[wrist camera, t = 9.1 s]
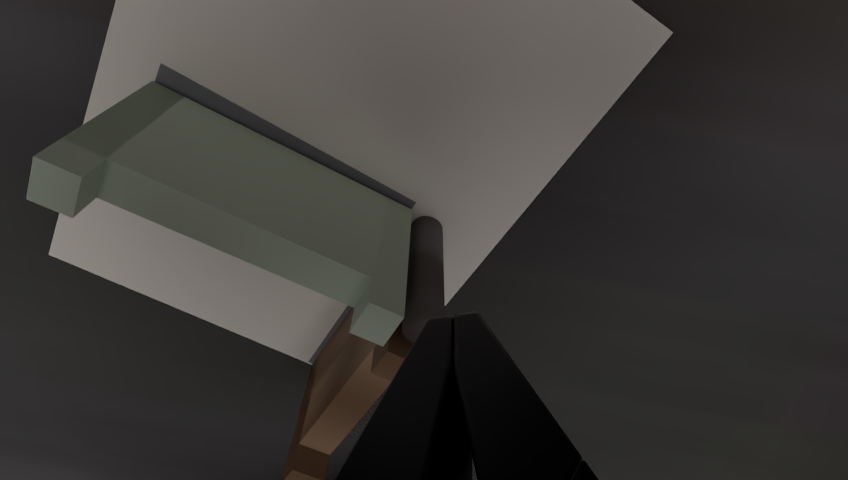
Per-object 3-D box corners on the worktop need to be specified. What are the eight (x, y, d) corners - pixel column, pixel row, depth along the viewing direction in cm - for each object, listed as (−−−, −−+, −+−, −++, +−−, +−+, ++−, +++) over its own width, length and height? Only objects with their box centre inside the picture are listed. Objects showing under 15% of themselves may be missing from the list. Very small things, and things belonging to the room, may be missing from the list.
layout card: (374, 385, 24) (374, 391, 23) (53, 249, 20) (48, 254, 20) (669, 30, 15) (673, 32, 15) (208, -325, 11) (203, -330, 11)
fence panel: (412, 209, 18) (404, 317, 13) (396, 234, 19) (383, 346, 14) (151, 80, 16) (33, 156, 11) (143, 114, 16) (26, 199, 12)
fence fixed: (338, 368, 23) (312, 495, 18) (313, 358, 23) (280, 484, 18) (448, 221, 19) (454, 334, 14) (420, 206, 19) (415, 316, 14)
